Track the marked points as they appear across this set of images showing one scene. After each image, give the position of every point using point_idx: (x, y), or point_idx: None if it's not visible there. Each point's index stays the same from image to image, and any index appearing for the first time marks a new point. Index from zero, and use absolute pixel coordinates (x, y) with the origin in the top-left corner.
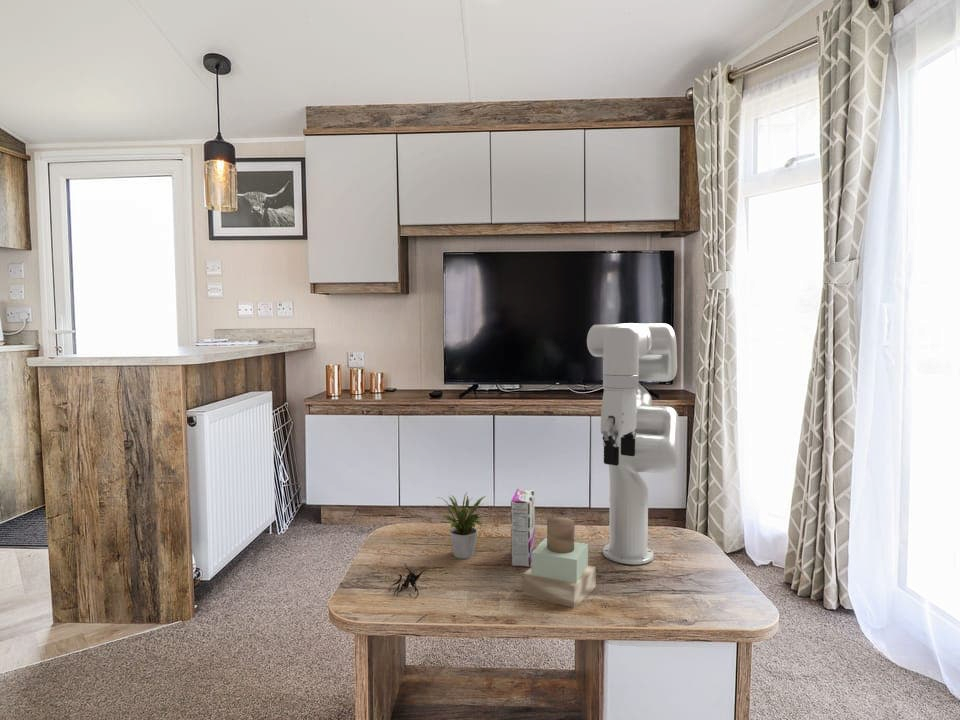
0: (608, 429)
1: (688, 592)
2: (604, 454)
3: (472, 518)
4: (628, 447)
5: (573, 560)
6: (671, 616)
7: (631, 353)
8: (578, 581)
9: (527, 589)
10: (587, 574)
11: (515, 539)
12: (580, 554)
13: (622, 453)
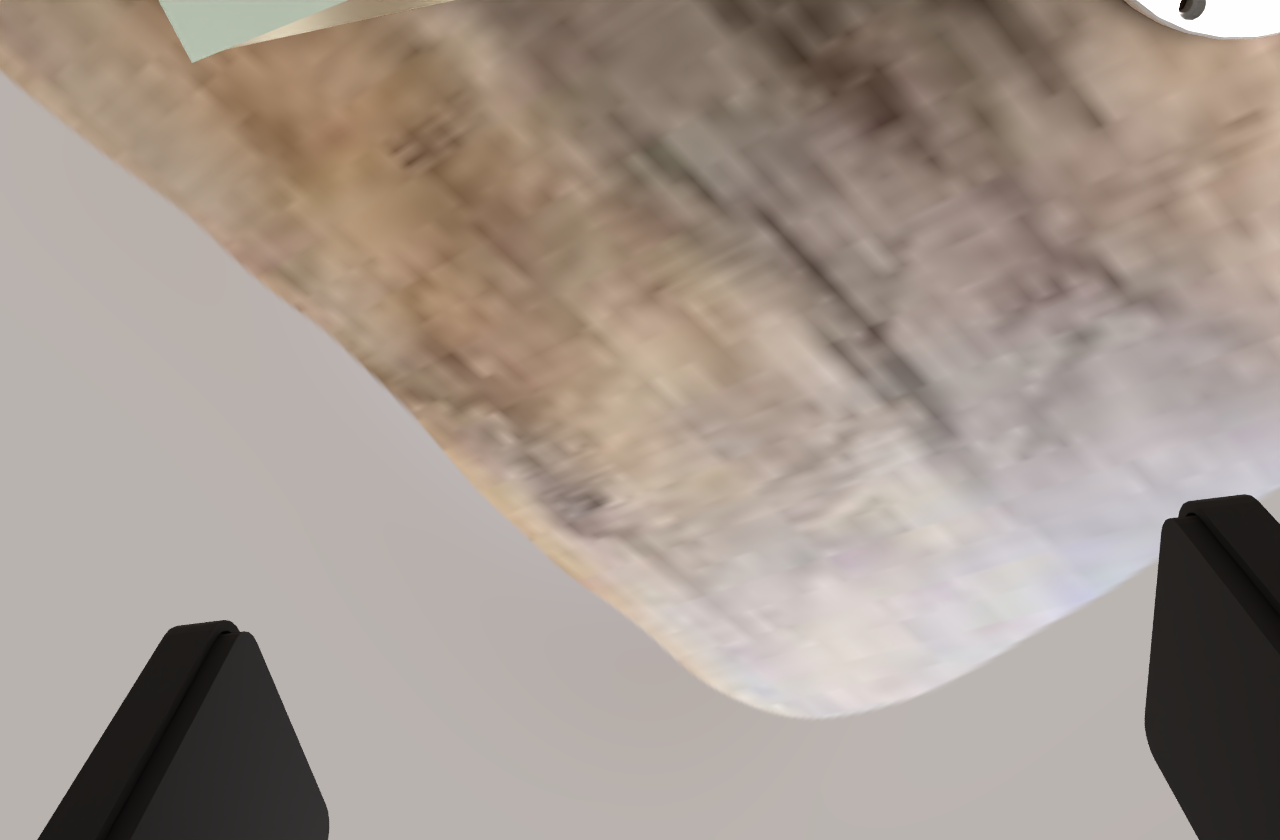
0: None
1: (897, 399)
2: (93, 776)
3: None
4: (1235, 799)
5: (180, 34)
6: (581, 447)
7: None
8: (285, 28)
9: None
10: (431, 4)
11: None
12: (305, 15)
13: (1168, 559)
